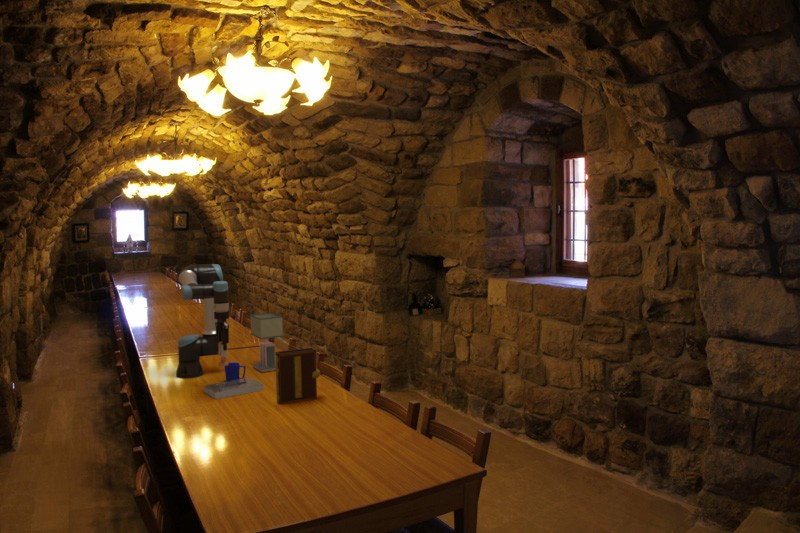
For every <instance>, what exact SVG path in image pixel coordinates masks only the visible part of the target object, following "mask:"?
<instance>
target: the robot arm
mask: <svg viewBox="0 0 800 533" xmlns="http://www.w3.org/2000/svg"><path fill="white" fill-rule="evenodd" d="M178 280H179V283H180V284H181V285H182V286H181V289H180V290H181V293H180V294H181V298H182V300H184V301H185V300H187V301H191V300H192V301H193V300H203V312H204V315H203V317H204V318H203V319H204V331H203V332H202V335H201V336H200V335H199V334H197V333H195V334H187V335H185V336H181V337H179V339H178V341H177V348H178V349H177V350H178V351H177V353H178V365H177V367H176V372H175V375H176V376H175V377H176V378H178V379H193V378H198V377H202V376H203V375H204V368H203V366H202V364H201V359H200V357H209V356H220V357H221V350H220V345H219V342H220V341H222V343H221V347H222V357H225V356H226V357H228V344H229V343H230V334H229V333H230V330H229V329H230V324H228V322H227V320H228V319H229V318H230V311H229V310H230V302H229V301H230V300H229V283H228V281H225V280H224V274H223V271H222V267H221V266H220V264H217V263H216V264H215V263H209V264H206V263H205V264H191V265H189V266H185V267H184V269H182V270H181V271H180V272H179V274H178Z"/></svg>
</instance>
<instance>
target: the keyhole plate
mask: <svg viewBox="0 0 800 533" xmlns="http://www.w3.org/2000/svg"><path fill="white" fill-rule="evenodd" d="M264 390H265V389H264V383H263V382H261V381H259V380H257V379H255V378H252V377H250V376H249V377H244V378H243V379H238V380H232V381H222V382H217V383H210V384H206V385H203V392H204V393H205V394H206V395H208V396H210V398H213V399H215V400H218V399H219V400H220V399H224V398H230V397H235V396H239V395H245V394H249V393H254V392H261V391H264Z"/></svg>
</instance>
